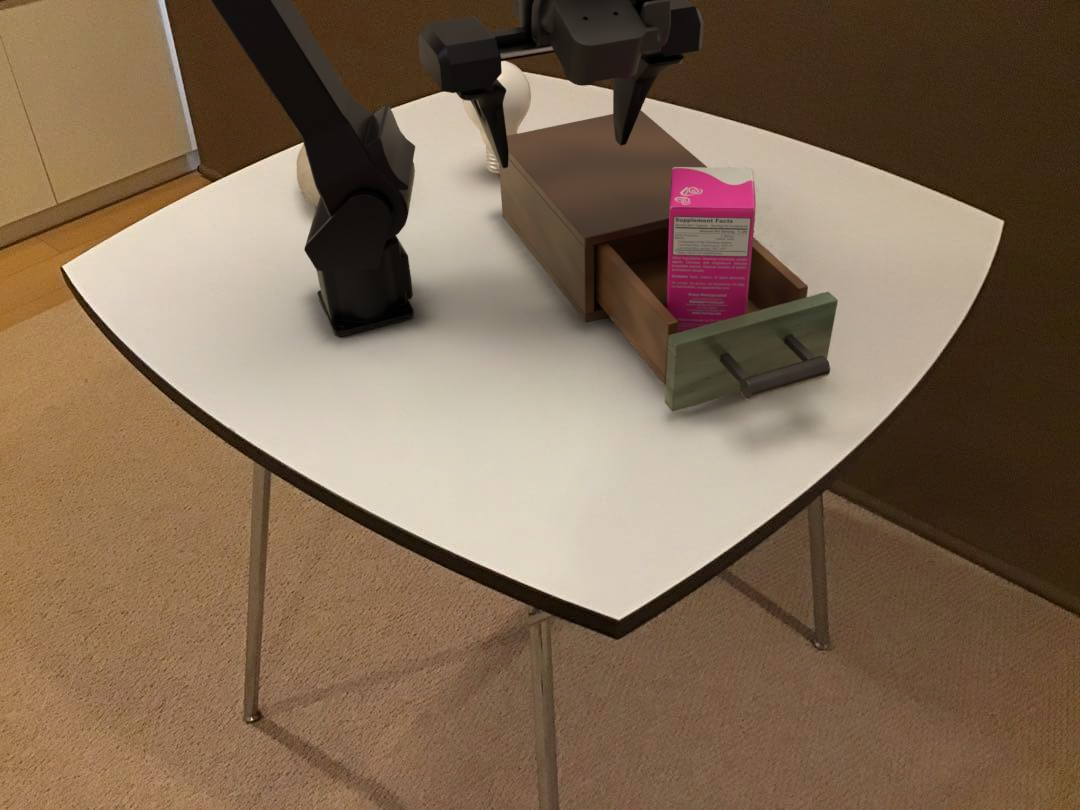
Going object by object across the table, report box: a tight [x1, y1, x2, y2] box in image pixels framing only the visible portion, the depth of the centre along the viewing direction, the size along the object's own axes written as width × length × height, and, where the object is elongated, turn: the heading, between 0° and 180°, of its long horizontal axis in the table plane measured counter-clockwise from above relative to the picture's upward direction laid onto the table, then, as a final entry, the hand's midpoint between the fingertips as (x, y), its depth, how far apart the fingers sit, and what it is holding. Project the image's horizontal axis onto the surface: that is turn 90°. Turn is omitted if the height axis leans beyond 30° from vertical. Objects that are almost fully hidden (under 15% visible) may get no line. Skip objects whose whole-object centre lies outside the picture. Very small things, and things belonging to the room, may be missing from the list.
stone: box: [296, 143, 320, 208], centre depth 97 cm, size 6×6×12 cm
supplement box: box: [667, 166, 757, 333], centre depth 74 cm, size 6×6×12 cm
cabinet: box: [499, 109, 709, 323], centre depth 87 cm, size 19×14×8 cm
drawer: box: [594, 227, 839, 413], centre depth 76 cm, size 22×12×6 cm, turn 22°
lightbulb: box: [461, 60, 532, 176], centre depth 97 cm, size 6×6×11 cm
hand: (562, 154), depth 75 cm, fingers open, 9 cm apart
